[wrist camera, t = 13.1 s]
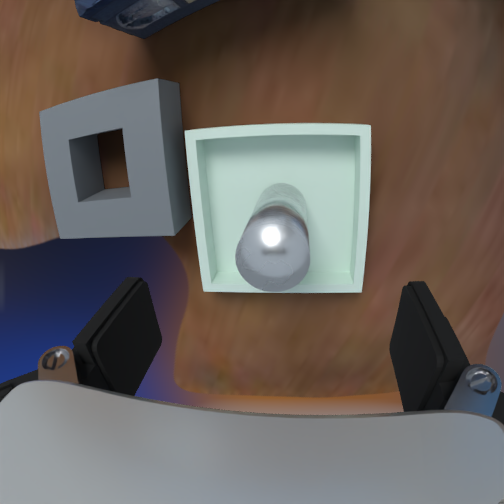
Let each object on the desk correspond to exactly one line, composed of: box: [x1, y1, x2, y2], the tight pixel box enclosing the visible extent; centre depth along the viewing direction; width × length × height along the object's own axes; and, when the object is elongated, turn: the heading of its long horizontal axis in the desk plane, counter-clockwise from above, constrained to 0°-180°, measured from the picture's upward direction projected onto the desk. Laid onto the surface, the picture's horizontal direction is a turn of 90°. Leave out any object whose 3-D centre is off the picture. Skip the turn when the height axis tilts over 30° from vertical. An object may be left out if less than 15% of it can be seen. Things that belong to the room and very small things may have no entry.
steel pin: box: [235, 183, 310, 292], centre depth 22 cm, size 4×4×10 cm
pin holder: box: [39, 78, 192, 239], centre depth 25 cm, size 12×12×4 cm
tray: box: [185, 123, 371, 293], centre depth 25 cm, size 14×14×3 cm
